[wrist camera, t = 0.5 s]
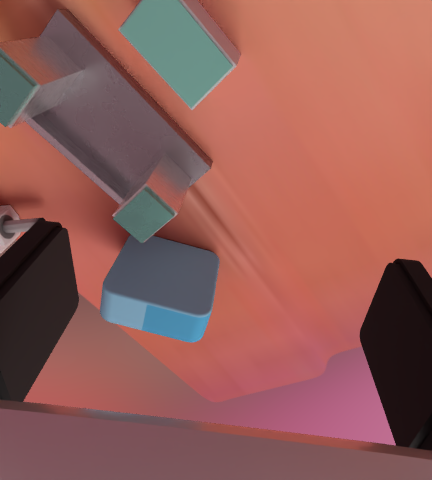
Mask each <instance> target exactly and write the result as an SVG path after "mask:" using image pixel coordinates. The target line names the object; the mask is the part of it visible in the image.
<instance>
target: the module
mask: <svg viewBox="0 0 432 480" xmlns="http://www.w3.org/2000/svg"><path fill="white" fill-rule="evenodd" d="M118 30H119V31H120V32H121V34H122V35H123V36H124V37H125V38H126V39H127V40H128V41H129V42H130V43H131V44H132V46H133V47H134V48H135V49H136V50H137V51H138V52H139V53H140V54H141V55H142V56H143V57H144V59H145V60H146V61H147V62H148V63H149V64H150V65H151V66H152V67H153V68H154V69H155V71H156V72H157V73H158V74H159V75H160V76H161V77H162V78H163V79H164V80H165V81H166V83H167V84H168V85H169V86H170V87H171V88H172V89H173V90H174V91H175V92H176V93H177V94H178V96H179V97H180V98H181V99H182V100H183V101H184V102H185V103H186V104H187V105H188V106H189V108H190V109H191V110H193V109H194V108H195V107H196V106H197V105H198V104H199V103H200V102H201V101H202V100H203V99H204V98H205V97H206V96H207V95H208V94H209V93H210V92H211V91H212V90H213V89H214V88H215V87H216V86H217V85H218V84H219V83H220V82H221V81H222V80H223V79H224V78H225V77H226V76H227V75H228V74H229V73H230V72H231V71H232V70H233V69H234V68H235V67H236V66H237V64H238V61H239V58H240V56H241V54H240V52H239V51H238V50H237V49H236V47H235V46H234V45H233V44H232V42H231V41H230V40H229V39H228V38H227V36H226V35H225V34H224V33H223V31H222V30H221V29H220V28H219V26H218V25H217V24H216V23H215V21H214V20H213V19H212V18H211V16H210V15H209V14H208V13H207V11H206V10H205V9H204V8H203V6H202V5H201V4H200V3H199V1H198V0H141V1H140V2H139V3H138V5H137V6H136V7H135V9H134V10H133V11H132V12H131V14H130V15H129V16H128V18H127V19H126V20H125V22H124V23H123V24H122V25H121V27H120V28H119V29H118Z"/></svg>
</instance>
